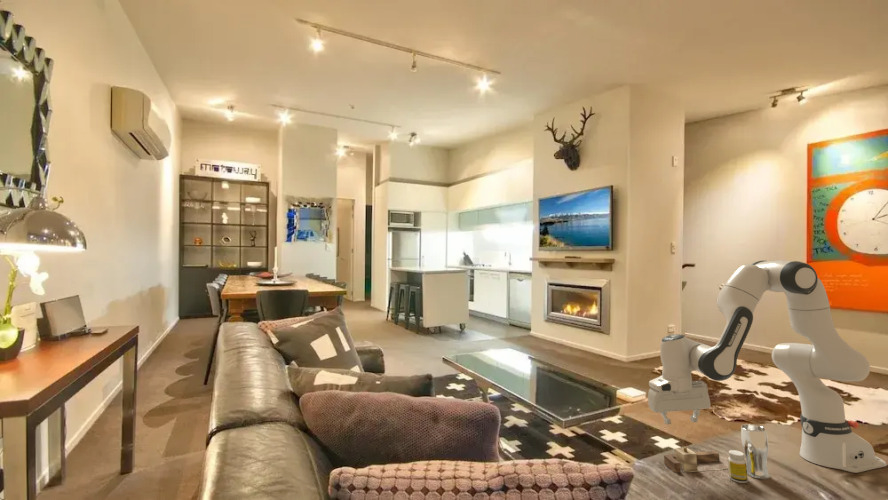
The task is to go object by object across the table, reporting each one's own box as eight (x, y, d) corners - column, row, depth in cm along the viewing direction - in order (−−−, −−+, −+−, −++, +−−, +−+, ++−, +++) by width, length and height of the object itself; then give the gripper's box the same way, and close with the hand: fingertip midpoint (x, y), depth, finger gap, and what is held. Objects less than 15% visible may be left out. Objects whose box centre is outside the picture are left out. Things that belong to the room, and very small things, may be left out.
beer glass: (742, 475, 131) (738, 428, 132) (745, 467, 136) (741, 422, 137) (770, 482, 126) (765, 433, 127) (772, 473, 131) (767, 426, 132)
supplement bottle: (751, 483, 126) (748, 456, 126) (734, 483, 127) (731, 455, 127) (742, 476, 130) (740, 449, 131) (726, 475, 131) (724, 449, 132)
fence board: (715, 458, 143) (714, 449, 143) (732, 468, 135) (731, 459, 135) (662, 462, 142) (661, 453, 143) (675, 473, 134) (675, 463, 135)
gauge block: (689, 464, 140) (687, 444, 140) (697, 470, 136) (695, 450, 136) (676, 465, 140) (674, 445, 140) (684, 471, 135) (682, 450, 136)
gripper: (700, 377, 143) (704, 416, 142) (644, 382, 142) (647, 421, 142) (712, 382, 137) (716, 423, 136) (654, 387, 136) (657, 428, 135)
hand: (681, 422), depth 139 cm, fingers open, 8 cm apart
